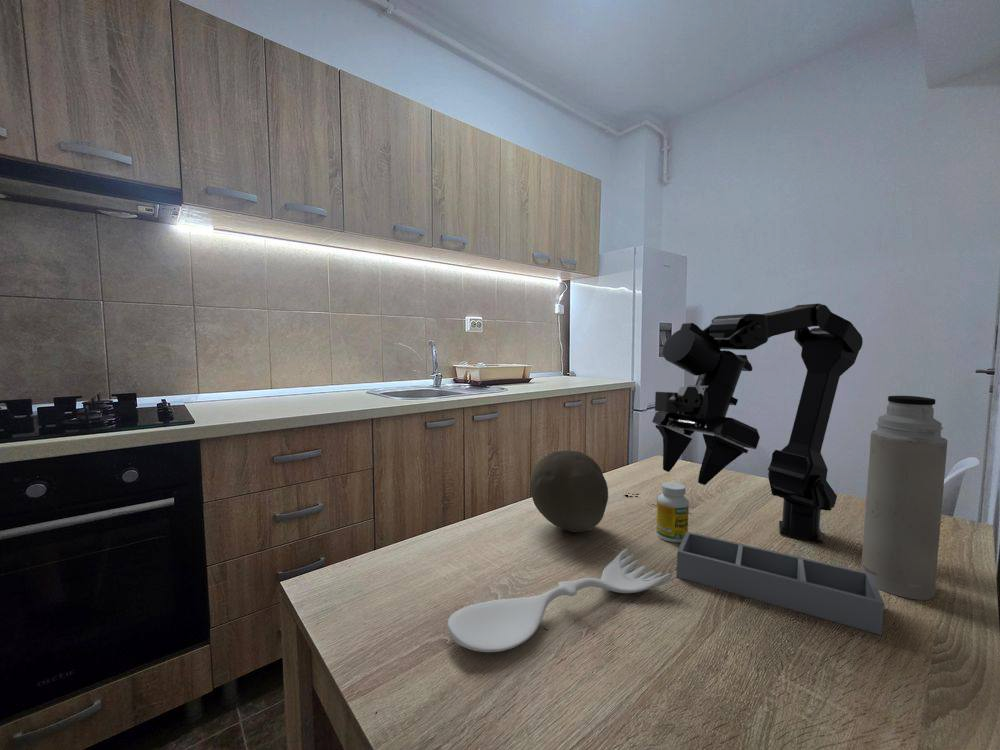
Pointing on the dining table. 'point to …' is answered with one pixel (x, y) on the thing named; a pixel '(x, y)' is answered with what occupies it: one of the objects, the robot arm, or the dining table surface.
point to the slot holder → (783, 580)
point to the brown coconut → (569, 490)
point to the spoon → (538, 607)
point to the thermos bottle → (905, 498)
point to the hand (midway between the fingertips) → (682, 477)
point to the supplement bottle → (672, 512)
